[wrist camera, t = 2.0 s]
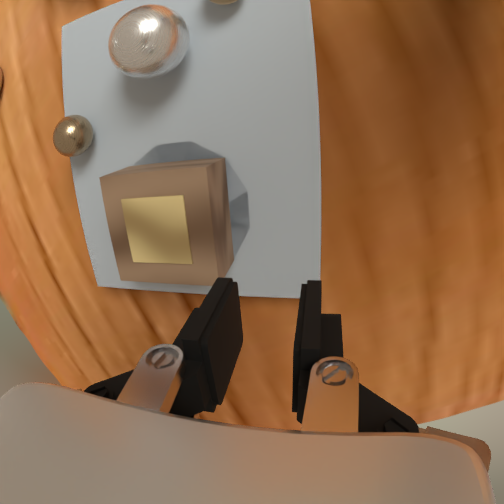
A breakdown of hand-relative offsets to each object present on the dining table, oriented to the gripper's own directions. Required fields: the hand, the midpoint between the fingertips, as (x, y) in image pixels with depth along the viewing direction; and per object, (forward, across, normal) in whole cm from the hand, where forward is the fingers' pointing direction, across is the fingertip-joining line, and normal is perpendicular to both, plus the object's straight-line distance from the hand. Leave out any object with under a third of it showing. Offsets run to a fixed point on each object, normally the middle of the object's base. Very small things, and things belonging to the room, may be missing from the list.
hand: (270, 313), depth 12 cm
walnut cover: (+14, +9, 0) cm, 17 cm away
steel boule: (+11, +10, -14) cm, 20 cm away
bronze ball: (+12, +18, -8) cm, 24 cm away
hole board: (+17, +10, -6) cm, 21 cm away
